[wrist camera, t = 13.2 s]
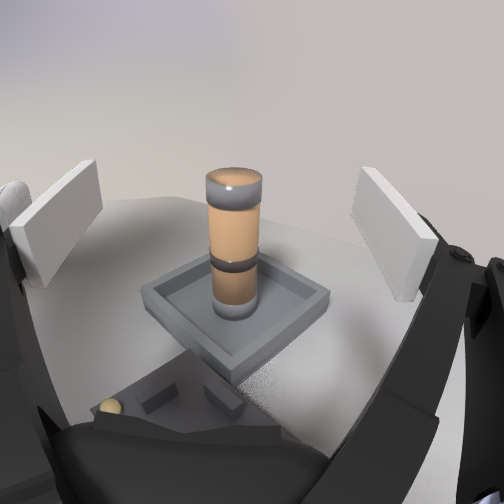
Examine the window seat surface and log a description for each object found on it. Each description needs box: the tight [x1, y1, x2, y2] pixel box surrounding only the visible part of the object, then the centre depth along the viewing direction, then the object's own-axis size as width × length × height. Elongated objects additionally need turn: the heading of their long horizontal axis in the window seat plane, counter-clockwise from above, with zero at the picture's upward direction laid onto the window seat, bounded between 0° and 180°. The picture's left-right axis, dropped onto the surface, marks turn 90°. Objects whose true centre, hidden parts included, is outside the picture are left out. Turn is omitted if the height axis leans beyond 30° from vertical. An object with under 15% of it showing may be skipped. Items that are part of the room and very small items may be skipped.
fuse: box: [206, 168, 262, 321], centre depth 30 cm, size 5×5×14 cm
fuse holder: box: [90, 349, 302, 442], centre depth 20 cm, size 12×10×5 cm
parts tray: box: [140, 252, 331, 388], centre depth 33 cm, size 14×14×3 cm
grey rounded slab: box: [0, 180, 32, 232], centre depth 37 cm, size 10×4×12 cm, turn 16°
